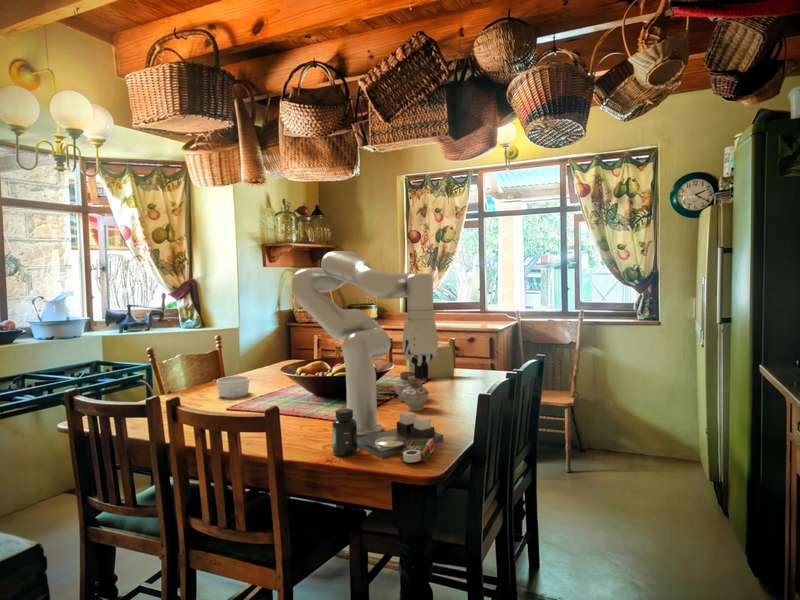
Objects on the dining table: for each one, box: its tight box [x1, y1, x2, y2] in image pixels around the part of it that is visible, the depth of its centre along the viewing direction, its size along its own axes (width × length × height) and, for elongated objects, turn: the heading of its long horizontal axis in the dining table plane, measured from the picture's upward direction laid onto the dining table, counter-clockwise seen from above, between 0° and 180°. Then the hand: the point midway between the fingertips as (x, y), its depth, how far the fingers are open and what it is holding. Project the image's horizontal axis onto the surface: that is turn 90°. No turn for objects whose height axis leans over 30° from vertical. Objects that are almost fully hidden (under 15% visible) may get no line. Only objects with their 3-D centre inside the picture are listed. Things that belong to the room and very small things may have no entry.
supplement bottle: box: [331, 408, 358, 458], centre depth 148 cm, size 7×7×12 cm
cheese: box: [405, 344, 455, 380], centre depth 249 cm, size 22×10×15 cm, turn 98°
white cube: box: [414, 415, 432, 430], centre depth 156 cm, size 4×4×4 cm
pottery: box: [393, 371, 429, 412], centre depth 200 cm, size 11×25×12 cm, turn 10°
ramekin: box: [216, 375, 250, 399], centre depth 221 cm, size 13×13×7 cm
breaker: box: [399, 411, 417, 425], centre depth 161 cm, size 4×4×4 cm
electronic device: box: [400, 438, 436, 463], centre depth 144 cm, size 7×3×15 cm
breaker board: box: [357, 420, 444, 459], centre depth 155 cm, size 14×22×4 cm, turn 126°
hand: (421, 377), depth 155 cm, fingers closed
